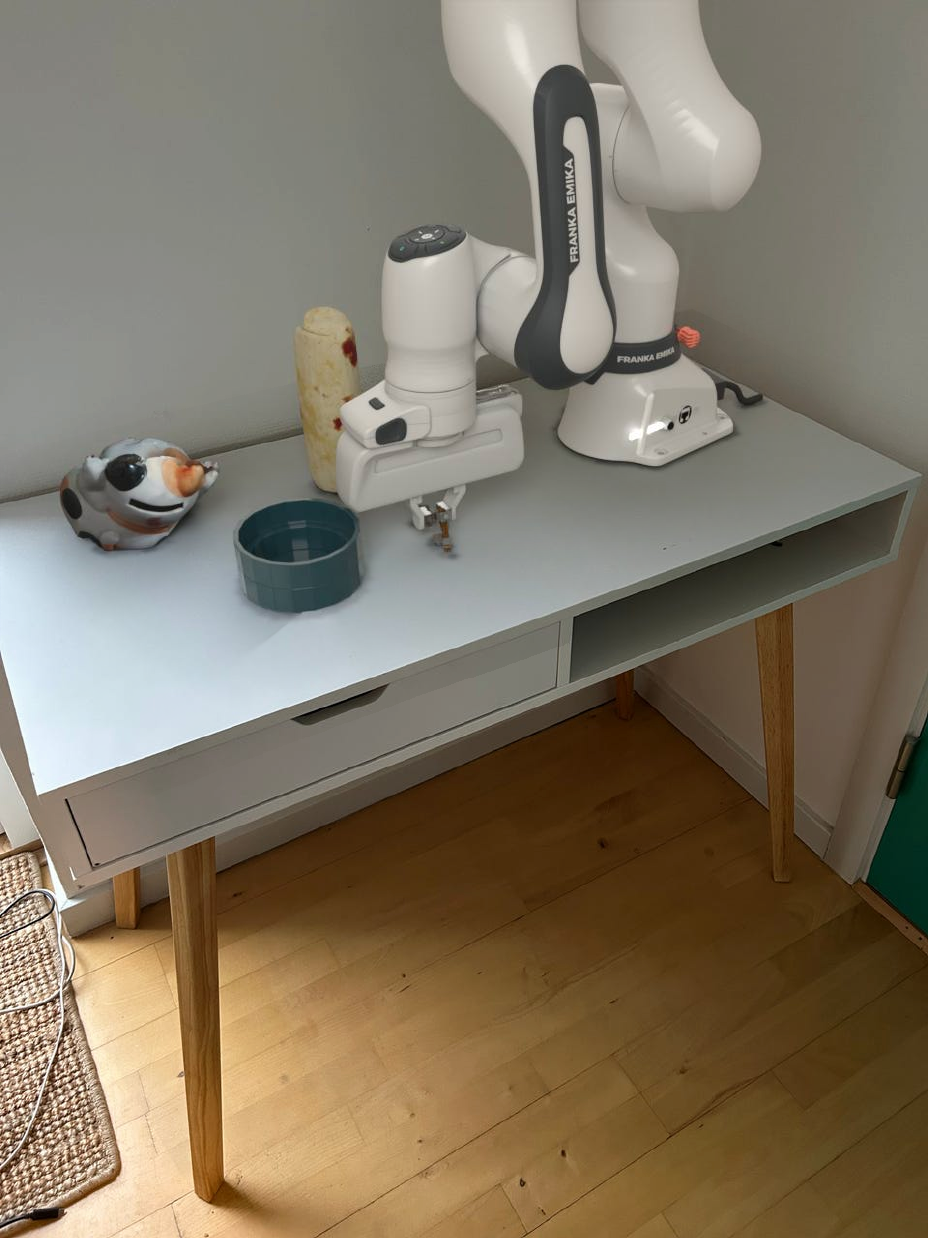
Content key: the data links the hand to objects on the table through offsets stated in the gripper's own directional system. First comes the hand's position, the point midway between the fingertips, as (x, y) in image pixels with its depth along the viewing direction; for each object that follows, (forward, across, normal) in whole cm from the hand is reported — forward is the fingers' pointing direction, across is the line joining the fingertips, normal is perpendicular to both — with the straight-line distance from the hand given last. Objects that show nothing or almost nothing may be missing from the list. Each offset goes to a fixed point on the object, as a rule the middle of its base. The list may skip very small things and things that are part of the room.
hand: (434, 522), depth 105 cm
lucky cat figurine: (+2, +26, -17) cm, 31 cm away
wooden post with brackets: (+2, 0, 0) cm, 2 cm away
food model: (+2, +4, -16) cm, 17 cm away
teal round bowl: (+2, +15, +1) cm, 16 cm away
